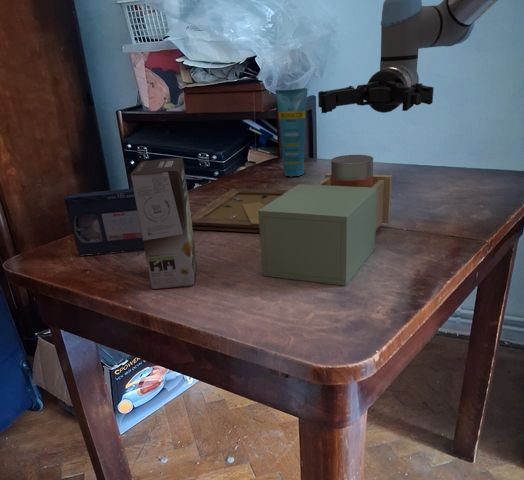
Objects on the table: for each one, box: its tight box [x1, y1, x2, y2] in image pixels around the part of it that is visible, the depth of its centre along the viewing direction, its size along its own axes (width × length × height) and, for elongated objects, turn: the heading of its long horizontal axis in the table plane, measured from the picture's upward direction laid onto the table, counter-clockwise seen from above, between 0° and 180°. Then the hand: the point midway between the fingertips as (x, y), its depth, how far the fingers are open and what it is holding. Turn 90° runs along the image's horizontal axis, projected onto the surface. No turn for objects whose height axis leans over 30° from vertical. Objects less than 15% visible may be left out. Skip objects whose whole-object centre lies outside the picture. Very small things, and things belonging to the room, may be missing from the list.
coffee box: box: [130, 157, 198, 290], centre depth 76 cm, size 9×6×16 cm
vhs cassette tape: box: [63, 187, 145, 256], centre depth 89 cm, size 18×3×10 cm, turn 95°
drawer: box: [316, 172, 393, 231], centre depth 89 cm, size 18×11×8 cm, turn 155°
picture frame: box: [191, 188, 290, 234], centre depth 105 cm, size 19×2×24 cm
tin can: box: [330, 154, 374, 187], centre depth 86 cm, size 7×7×10 cm
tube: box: [274, 87, 308, 177], centre depth 126 cm, size 7×5×19 cm, turn 81°
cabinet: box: [258, 183, 377, 287], centre depth 78 cm, size 15×13×10 cm
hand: (363, 103), depth 88 cm, fingers open, 13 cm apart
